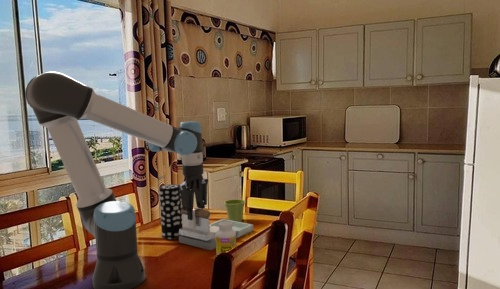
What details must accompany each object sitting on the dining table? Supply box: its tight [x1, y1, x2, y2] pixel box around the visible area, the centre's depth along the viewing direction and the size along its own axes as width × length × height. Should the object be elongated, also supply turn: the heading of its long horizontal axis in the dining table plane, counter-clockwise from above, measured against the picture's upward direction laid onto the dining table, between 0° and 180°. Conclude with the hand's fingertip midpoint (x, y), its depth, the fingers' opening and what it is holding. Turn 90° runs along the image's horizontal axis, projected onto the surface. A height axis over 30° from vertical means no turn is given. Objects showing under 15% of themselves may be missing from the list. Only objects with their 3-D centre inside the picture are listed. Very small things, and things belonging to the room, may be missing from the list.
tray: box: [209, 218, 254, 238], centre depth 170 cm, size 10×16×2 cm, turn 53°
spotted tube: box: [158, 184, 183, 240], centre depth 165 cm, size 8×8×20 cm
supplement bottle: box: [215, 221, 237, 255], centre depth 138 cm, size 7×7×13 cm
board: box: [178, 231, 239, 251], centre depth 159 cm, size 16×16×2 cm
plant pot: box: [223, 198, 246, 222], centre depth 183 cm, size 9×9×9 cm
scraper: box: [179, 207, 214, 241], centre depth 153 cm, size 4×14×10 cm, turn 53°
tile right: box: [210, 226, 219, 239], centre depth 157 cm, size 6×6×2 cm
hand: (196, 226), depth 153 cm, fingers closed on scraper, 3 cm apart
